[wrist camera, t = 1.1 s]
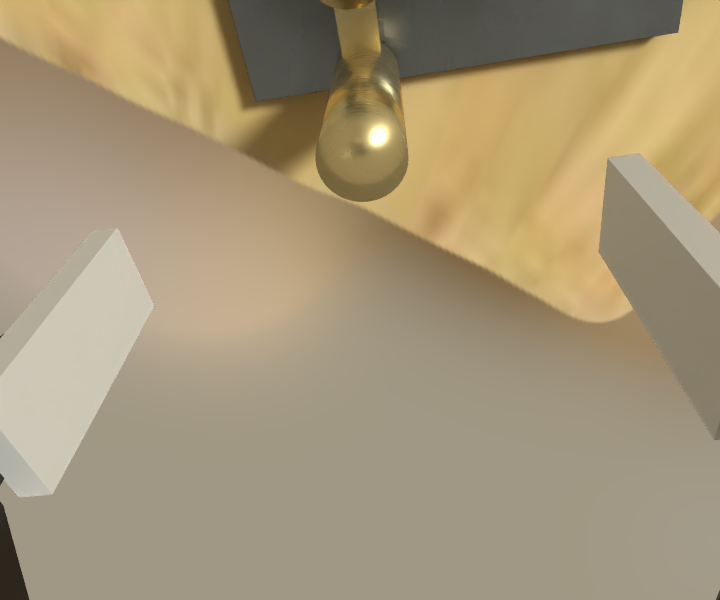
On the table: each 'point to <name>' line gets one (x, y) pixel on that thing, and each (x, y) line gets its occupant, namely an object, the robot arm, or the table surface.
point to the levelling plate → (432, 34)
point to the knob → (362, 111)
